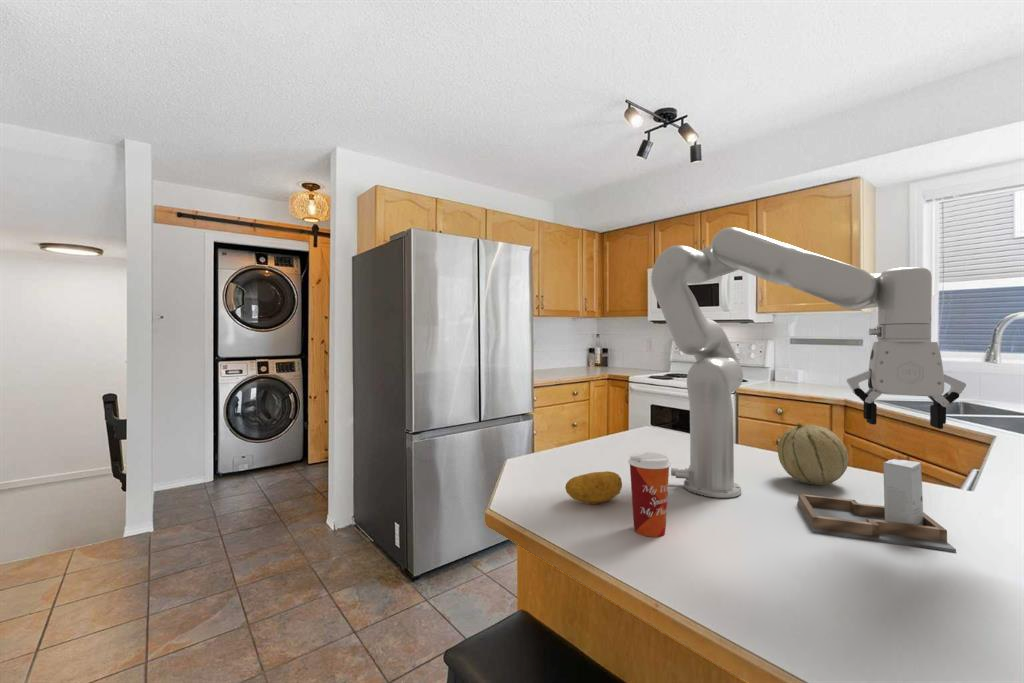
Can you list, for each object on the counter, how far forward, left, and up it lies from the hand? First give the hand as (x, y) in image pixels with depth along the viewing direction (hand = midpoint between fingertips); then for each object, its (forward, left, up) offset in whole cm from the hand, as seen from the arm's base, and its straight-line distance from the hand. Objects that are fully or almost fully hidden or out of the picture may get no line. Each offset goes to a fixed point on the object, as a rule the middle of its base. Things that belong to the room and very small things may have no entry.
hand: (903, 425), depth 83 cm
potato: (-57, -8, -20) cm, 61 cm away
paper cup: (-44, -19, -20) cm, 52 cm away
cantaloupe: (-10, +26, -20) cm, 34 cm away
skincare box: (0, 0, -19) cm, 19 cm away
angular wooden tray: (-6, 0, -20) cm, 20 cm away
